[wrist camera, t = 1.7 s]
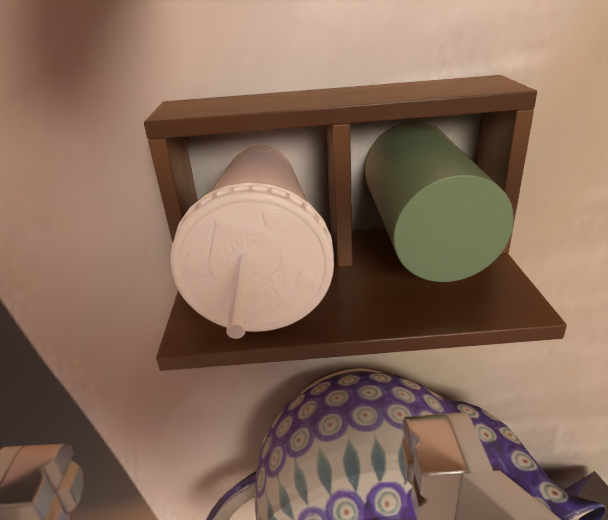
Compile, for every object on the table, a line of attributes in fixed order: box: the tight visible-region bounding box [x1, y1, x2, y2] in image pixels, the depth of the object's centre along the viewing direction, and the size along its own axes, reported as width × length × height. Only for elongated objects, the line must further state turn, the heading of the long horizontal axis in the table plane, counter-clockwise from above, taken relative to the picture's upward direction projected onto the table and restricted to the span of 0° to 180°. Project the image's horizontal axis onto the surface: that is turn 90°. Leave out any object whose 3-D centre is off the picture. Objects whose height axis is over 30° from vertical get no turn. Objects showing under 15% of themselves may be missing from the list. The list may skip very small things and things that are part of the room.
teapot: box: [206, 368, 606, 520], centre depth 30 cm, size 25×15×15 cm, turn 109°
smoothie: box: [170, 146, 334, 339], centre depth 21 cm, size 6×6×14 cm
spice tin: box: [365, 122, 514, 282], centre depth 23 cm, size 5×5×8 cm
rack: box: [144, 75, 567, 371], centre depth 22 cm, size 9×17×10 cm, turn 94°
